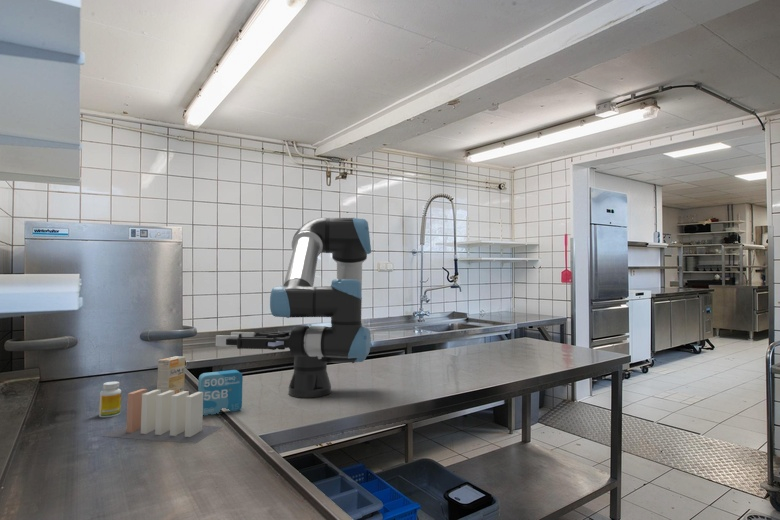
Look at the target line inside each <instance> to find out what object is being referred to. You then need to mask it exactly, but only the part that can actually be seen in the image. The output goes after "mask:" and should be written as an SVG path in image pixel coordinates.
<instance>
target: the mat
mask: <svg viewBox="0 0 780 520" xmlns="http://www.w3.org/2000/svg"><path fill="white" fill-rule="evenodd" d="M126 428H127V425H124V426H123V427H120V428H119V429H118V428H117V429H116V430H113V431H112V432H109V433H106V434H105V435H103V436H102V437H105V438H118V439H133V440H135V439H136V440H147V441H148V440H149V441H161V442H173V443H174V442H175V443H189V444H197V443H199V442H200V441H202V440H204V439H205V438H207V437H208V436H210V435H211V434H213V433H215V432H217V431H218V430H220V429H222V428H223V426H221V425H220V426H219V425H203V424H202V431H200V432H198V433H196V434H195V435H193V436H191V437H185V431H184V432H182V433H180V434H178V435H176V436H170V430H169V431H167V432H165V433H163V434H161V435H156V434H155V430H153V431H151V432H149V433H147V434H142V433H141V429H139V430H137V431H135V432H132V433H128V432H126Z"/></svg>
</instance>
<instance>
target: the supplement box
mask: <svg viewBox="0 0 780 520" xmlns="http://www.w3.org/2000/svg"><path fill="white" fill-rule="evenodd" d="M157 362H158V363H157V384H156V385H157V386H156V390H161V393H164V392H166V391H169V390H174V391H175V394H177V393H180V392H182V391H185V372H186V356H178V355H177V356H171V357H166V358H162V359H158V360H157Z"/></svg>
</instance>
